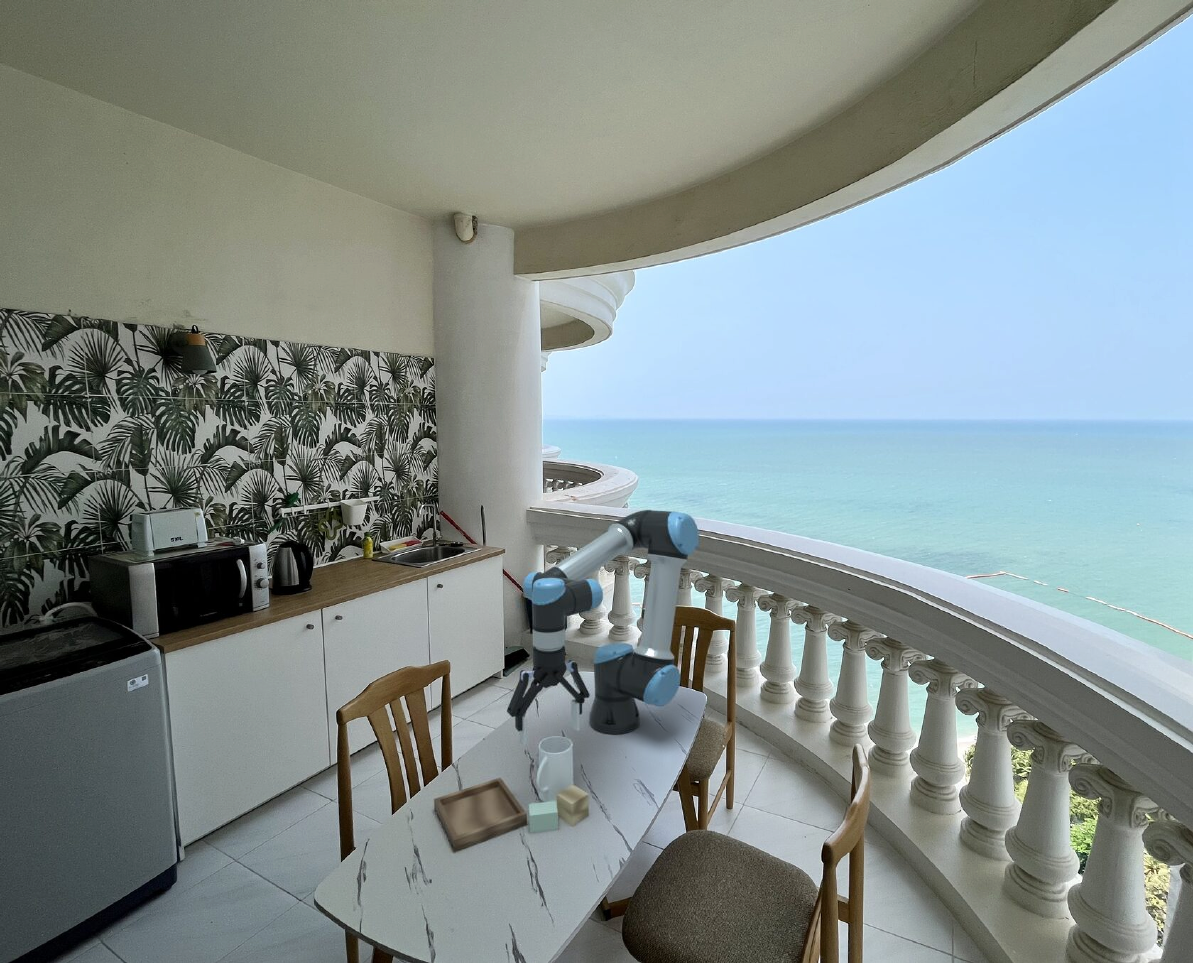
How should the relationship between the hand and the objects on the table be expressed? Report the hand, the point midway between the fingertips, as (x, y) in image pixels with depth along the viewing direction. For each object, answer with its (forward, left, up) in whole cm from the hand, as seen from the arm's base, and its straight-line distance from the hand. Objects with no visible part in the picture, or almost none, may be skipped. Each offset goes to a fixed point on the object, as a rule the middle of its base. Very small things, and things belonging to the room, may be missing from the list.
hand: (549, 735), depth 130 cm
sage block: (+6, +8, -15) cm, 18 cm away
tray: (+17, -2, -15) cm, 22 cm away
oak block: (-1, +8, -15) cm, 17 cm away
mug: (0, 0, -15) cm, 15 cm away
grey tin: (-3, -9, -15) cm, 18 cm away
